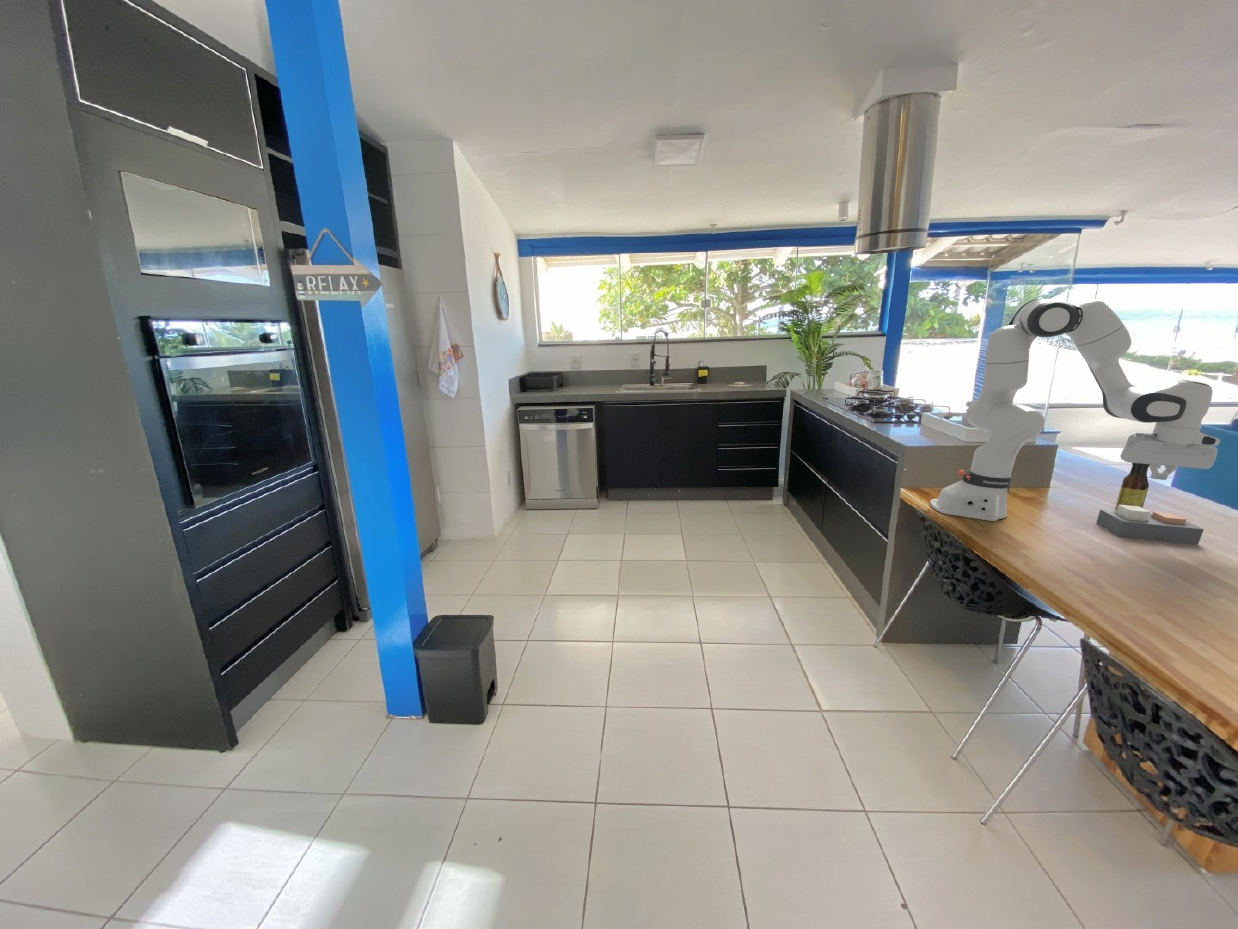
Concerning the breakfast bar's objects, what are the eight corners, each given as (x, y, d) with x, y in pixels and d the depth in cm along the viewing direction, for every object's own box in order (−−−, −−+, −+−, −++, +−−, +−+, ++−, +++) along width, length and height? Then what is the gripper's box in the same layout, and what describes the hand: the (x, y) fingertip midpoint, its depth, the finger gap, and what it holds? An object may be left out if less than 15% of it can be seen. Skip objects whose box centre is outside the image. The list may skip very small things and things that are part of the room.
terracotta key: (1161, 529, 144) (1165, 517, 143) (1149, 523, 149) (1153, 511, 148) (1182, 531, 143) (1186, 519, 142) (1169, 525, 148) (1173, 513, 146)
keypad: (1118, 536, 146) (1123, 521, 144) (1096, 523, 156) (1100, 509, 154) (1198, 544, 140) (1203, 529, 139) (1169, 530, 150) (1174, 515, 149)
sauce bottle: (1144, 520, 158) (1163, 464, 152) (1122, 519, 159) (1140, 463, 154) (1128, 513, 164) (1146, 459, 159) (1107, 512, 165) (1124, 458, 160)
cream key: (1125, 521, 147) (1129, 510, 146) (1115, 516, 151) (1118, 504, 150) (1146, 523, 145) (1150, 511, 144) (1134, 517, 150) (1138, 506, 149)
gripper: (1138, 434, 140) (1122, 477, 144) (1228, 440, 134) (1209, 486, 138) (1123, 430, 145) (1109, 472, 149) (1209, 436, 140) (1192, 479, 144)
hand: (1158, 479), depth 143 cm, fingers closed
